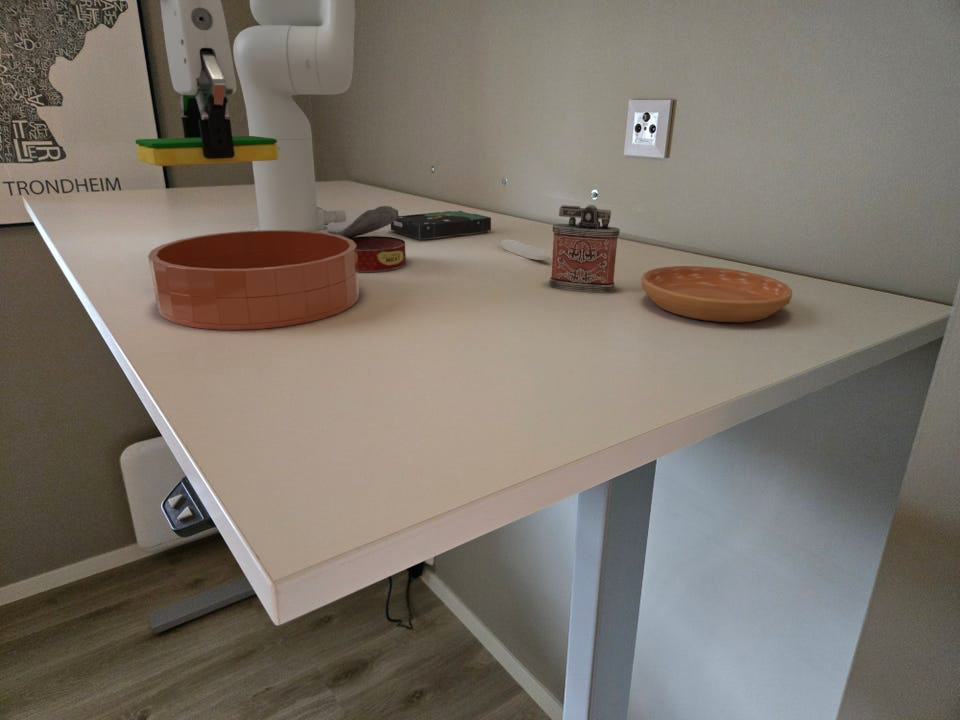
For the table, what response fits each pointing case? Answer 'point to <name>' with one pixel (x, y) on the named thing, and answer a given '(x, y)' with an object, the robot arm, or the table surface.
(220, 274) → the basin
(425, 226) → the disk drive
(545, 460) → the table surface
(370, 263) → the canned food
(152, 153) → the dish sponge
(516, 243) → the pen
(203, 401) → the table surface
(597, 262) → the lighter
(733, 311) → the saucer
